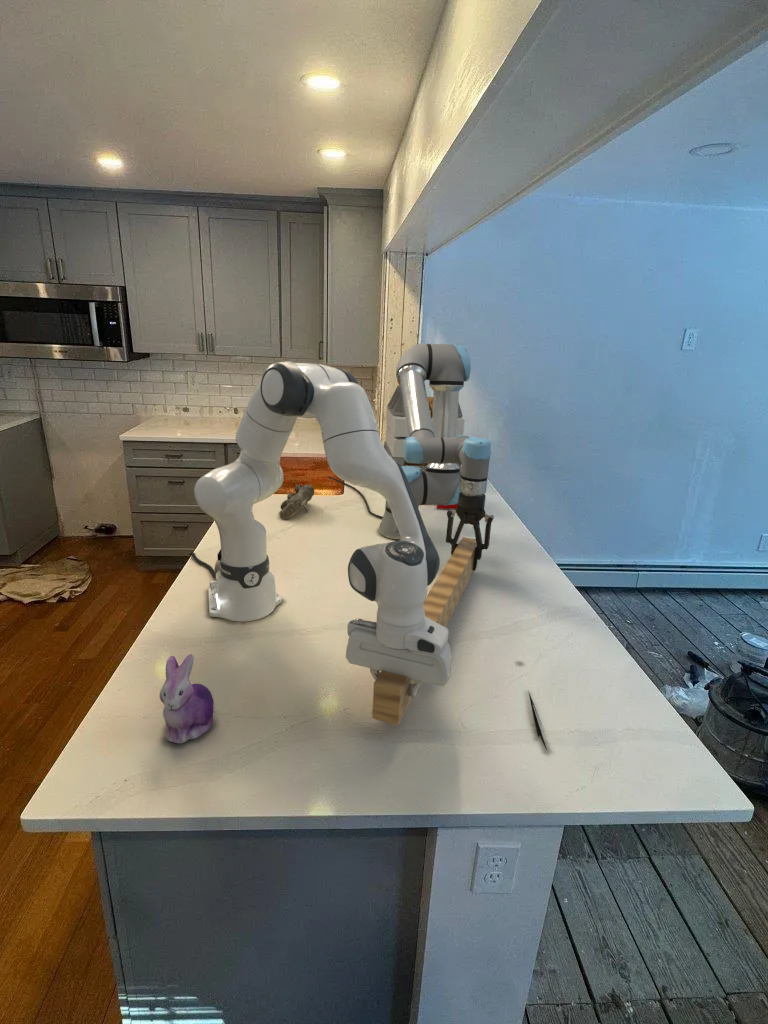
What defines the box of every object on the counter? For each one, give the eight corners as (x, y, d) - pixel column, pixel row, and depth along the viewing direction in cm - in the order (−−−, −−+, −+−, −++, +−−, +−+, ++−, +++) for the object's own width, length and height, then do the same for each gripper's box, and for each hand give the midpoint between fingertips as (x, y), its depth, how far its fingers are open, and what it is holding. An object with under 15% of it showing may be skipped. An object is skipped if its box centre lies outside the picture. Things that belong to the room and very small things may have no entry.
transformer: (382, 463, 289) (386, 382, 275) (445, 464, 293) (451, 384, 279) (390, 482, 257) (394, 392, 243) (460, 483, 261) (468, 394, 247)
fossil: (284, 490, 227) (312, 470, 222) (299, 508, 230) (327, 488, 225) (269, 514, 207) (299, 492, 202) (286, 533, 210) (316, 512, 205)
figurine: (167, 753, 99) (159, 681, 94) (159, 717, 107) (151, 649, 102) (222, 737, 103) (217, 667, 98) (210, 703, 111) (205, 637, 106)
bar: (460, 560, 175) (462, 536, 172) (476, 563, 173) (479, 539, 171) (372, 718, 106) (373, 683, 103) (398, 725, 104) (400, 690, 101)
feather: (520, 667, 129) (525, 661, 129) (546, 754, 103) (553, 747, 102) (514, 663, 129) (519, 657, 129) (538, 750, 103) (545, 742, 102)
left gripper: (341, 624, 105) (340, 686, 109) (449, 649, 99) (443, 714, 103) (354, 608, 110) (352, 668, 115) (457, 631, 104) (450, 693, 109)
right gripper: (438, 491, 160) (432, 566, 168) (502, 501, 155) (493, 577, 162) (444, 484, 167) (438, 556, 175) (506, 493, 161) (497, 567, 169)
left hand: (396, 690), depth 109 cm, fingers closed on bar, 5 cm apart
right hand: (464, 566), depth 168 cm, fingers closed on bar, 5 cm apart
